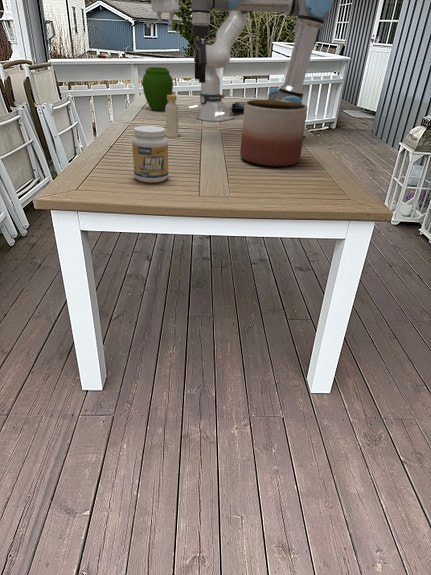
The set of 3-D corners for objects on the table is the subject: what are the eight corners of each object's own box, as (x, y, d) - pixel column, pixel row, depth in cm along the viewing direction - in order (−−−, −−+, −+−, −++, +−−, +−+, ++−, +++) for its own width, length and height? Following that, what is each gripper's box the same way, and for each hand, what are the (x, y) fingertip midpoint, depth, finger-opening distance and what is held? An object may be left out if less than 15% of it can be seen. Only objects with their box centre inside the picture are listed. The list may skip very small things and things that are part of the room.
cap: (165, 100, 197) (165, 95, 196) (170, 99, 200) (170, 94, 199) (173, 101, 195) (173, 96, 194) (178, 100, 198) (178, 95, 197)
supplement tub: (139, 184, 140) (136, 133, 131) (130, 174, 149) (127, 125, 140) (173, 181, 144) (172, 131, 135) (162, 172, 153) (161, 124, 144)
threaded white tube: (163, 136, 205) (162, 96, 195) (170, 134, 210) (169, 95, 200) (174, 137, 203) (173, 97, 193) (180, 135, 208) (180, 96, 198)
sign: (232, 108, 270) (231, 101, 295) (232, 112, 272) (230, 105, 297) (261, 109, 270) (257, 102, 296) (260, 114, 272) (257, 107, 297)
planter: (308, 168, 166) (317, 110, 154) (247, 168, 162) (252, 108, 150) (288, 152, 187) (295, 100, 175) (234, 152, 183) (238, 98, 171)
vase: (143, 107, 275) (142, 66, 262) (173, 108, 277) (172, 67, 264) (142, 112, 259) (140, 68, 246) (173, 113, 261) (173, 70, 248)
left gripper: (182, -11, 195) (182, 24, 203) (159, -9, 209) (160, 23, 216) (171, -12, 192) (171, 23, 199) (148, -11, 205) (149, 22, 213)
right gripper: (188, 24, 183) (188, 77, 194) (195, 24, 162) (195, 84, 173) (204, 25, 184) (203, 78, 195) (214, 25, 163) (212, 84, 175)
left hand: (165, 23), depth 208 cm, fingers open, 8 cm apart
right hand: (199, 81), depth 184 cm, fingers open, 13 cm apart
